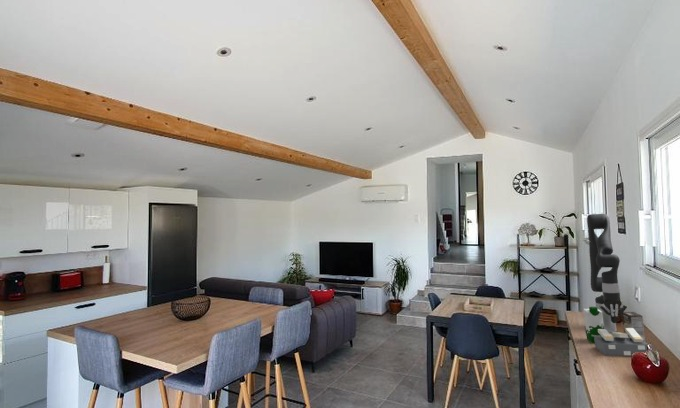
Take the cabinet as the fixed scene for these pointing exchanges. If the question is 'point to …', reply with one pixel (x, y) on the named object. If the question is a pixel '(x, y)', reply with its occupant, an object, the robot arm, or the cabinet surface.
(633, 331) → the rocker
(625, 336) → the block
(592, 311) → the milk carton
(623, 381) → the cabinet surface
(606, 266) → the robot arm
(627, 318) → the coffee box
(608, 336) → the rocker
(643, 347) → the switch unit
